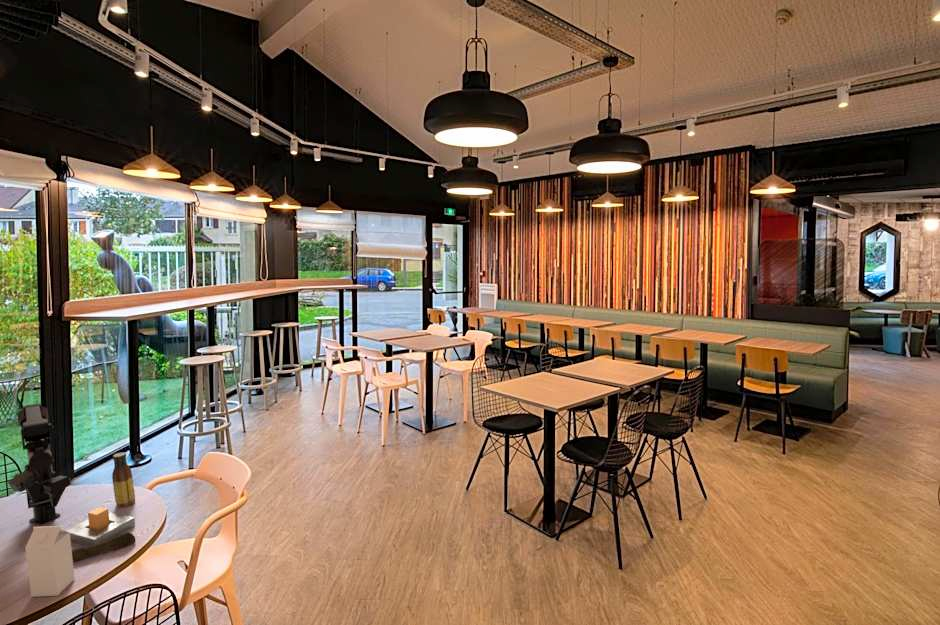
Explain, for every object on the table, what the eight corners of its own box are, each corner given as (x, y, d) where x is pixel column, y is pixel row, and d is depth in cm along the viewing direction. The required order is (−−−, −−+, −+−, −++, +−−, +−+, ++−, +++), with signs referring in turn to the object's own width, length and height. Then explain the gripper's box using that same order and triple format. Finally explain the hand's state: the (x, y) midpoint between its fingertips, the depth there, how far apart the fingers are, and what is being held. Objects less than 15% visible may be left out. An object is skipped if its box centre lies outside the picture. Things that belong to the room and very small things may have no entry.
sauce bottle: (131, 498, 200) (126, 449, 198) (138, 502, 197) (134, 453, 194) (112, 504, 195) (107, 454, 192) (119, 510, 191) (114, 458, 189)
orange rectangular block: (90, 534, 176) (87, 512, 174) (101, 528, 179) (99, 506, 178) (98, 536, 174) (96, 514, 173) (110, 530, 178) (108, 508, 177)
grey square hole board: (64, 539, 172) (63, 531, 172) (105, 518, 186) (104, 510, 185) (95, 547, 168) (94, 539, 168) (134, 525, 181) (134, 517, 181)
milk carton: (49, 580, 152) (42, 520, 149) (75, 579, 153) (68, 519, 150) (31, 597, 145) (23, 534, 142) (58, 596, 146) (50, 533, 143)
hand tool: (62, 568, 158) (60, 554, 158) (63, 561, 161) (61, 547, 161) (135, 548, 169) (134, 534, 168) (135, 542, 172) (134, 529, 171)
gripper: (-9, 465, 165) (-3, 511, 167) (32, 474, 159) (37, 521, 161) (30, 452, 175) (35, 495, 177) (70, 459, 169) (74, 504, 172)
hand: (44, 504), depth 172 cm, fingers open, 9 cm apart
